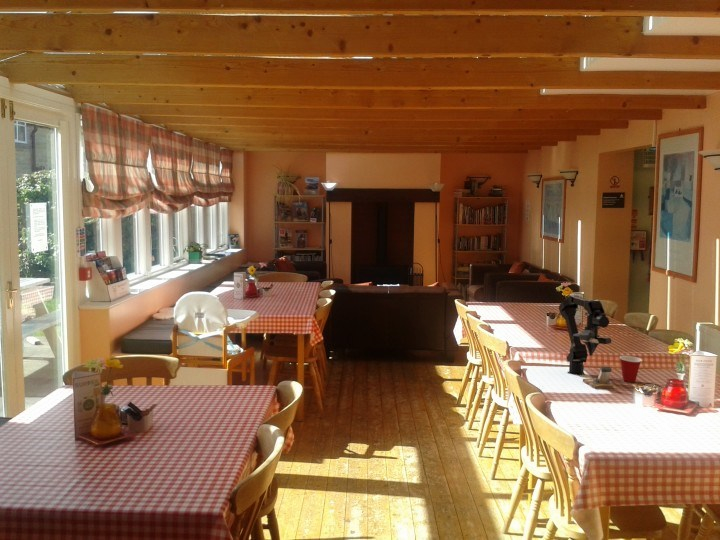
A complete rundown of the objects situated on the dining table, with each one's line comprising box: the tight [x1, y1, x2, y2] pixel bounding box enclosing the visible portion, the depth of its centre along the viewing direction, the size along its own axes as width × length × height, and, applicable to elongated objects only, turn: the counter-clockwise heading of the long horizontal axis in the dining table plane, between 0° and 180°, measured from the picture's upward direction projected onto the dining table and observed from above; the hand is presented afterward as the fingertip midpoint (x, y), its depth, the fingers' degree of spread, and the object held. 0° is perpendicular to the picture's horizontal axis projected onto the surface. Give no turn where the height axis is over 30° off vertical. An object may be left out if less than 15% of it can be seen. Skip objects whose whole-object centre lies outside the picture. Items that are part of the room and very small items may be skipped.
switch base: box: [582, 377, 614, 390], centre depth 350 cm, size 16×9×4 cm, turn 4°
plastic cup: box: [618, 355, 643, 383], centre depth 361 cm, size 11×11×12 cm
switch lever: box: [597, 366, 613, 384], centre depth 343 cm, size 2×5×10 cm, turn 93°
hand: (591, 355), depth 364 cm, fingers closed
